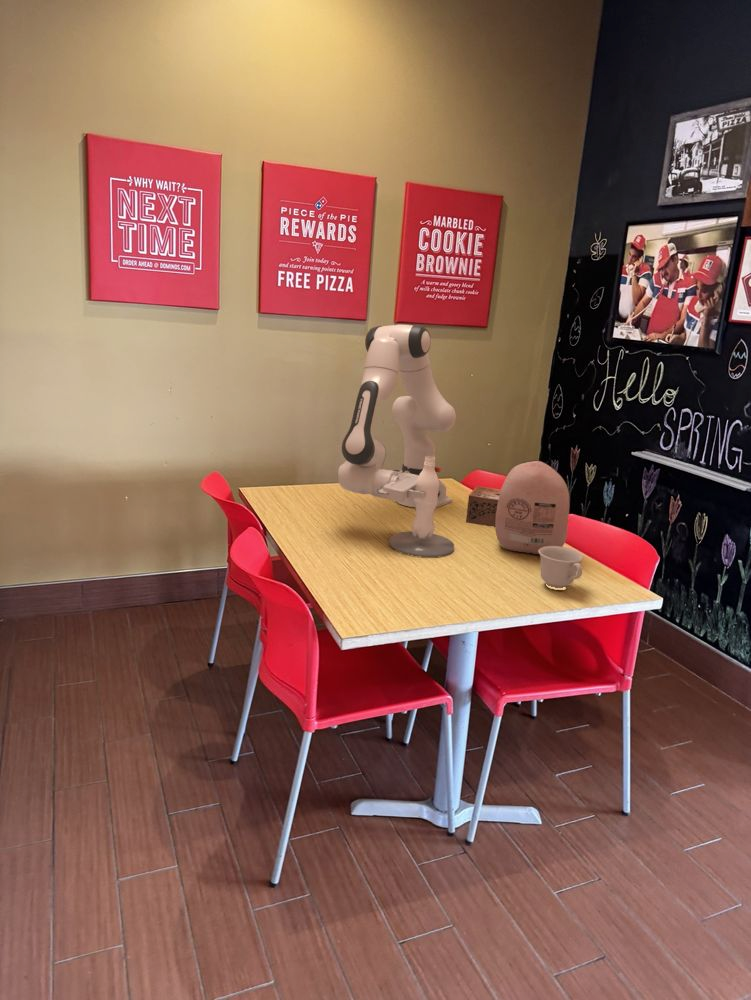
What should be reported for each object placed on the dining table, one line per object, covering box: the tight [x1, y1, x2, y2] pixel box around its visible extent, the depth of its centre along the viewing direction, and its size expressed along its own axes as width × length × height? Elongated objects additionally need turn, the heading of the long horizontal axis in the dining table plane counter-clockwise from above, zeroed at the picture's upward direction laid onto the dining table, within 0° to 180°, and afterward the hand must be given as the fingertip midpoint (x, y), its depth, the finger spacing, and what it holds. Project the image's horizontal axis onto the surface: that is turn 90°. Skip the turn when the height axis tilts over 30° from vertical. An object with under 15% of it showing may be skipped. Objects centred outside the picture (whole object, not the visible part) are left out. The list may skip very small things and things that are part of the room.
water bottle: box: [410, 456, 440, 539], centre depth 219 cm, size 7×7×25 cm
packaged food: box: [494, 459, 570, 555], centre depth 221 cm, size 22×20×30 cm
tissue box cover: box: [465, 485, 501, 528], centre depth 252 cm, size 26×14×10 cm, turn 72°
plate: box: [388, 531, 455, 558], centre depth 223 cm, size 20×20×1 cm
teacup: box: [538, 546, 584, 588], centre depth 197 cm, size 12×15×10 cm
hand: (429, 492), depth 218 cm, fingers closed on water bottle, 7 cm apart
